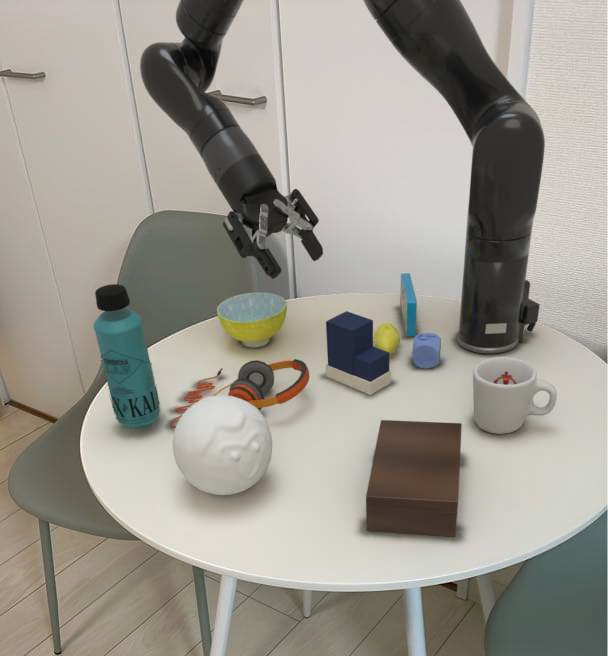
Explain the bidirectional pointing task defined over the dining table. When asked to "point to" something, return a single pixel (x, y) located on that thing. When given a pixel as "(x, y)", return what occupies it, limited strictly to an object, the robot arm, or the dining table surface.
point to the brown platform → (415, 478)
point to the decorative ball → (222, 445)
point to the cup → (507, 394)
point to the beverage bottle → (125, 358)
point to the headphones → (257, 384)
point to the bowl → (252, 317)
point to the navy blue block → (355, 354)
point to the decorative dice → (426, 350)
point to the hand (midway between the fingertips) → (298, 266)
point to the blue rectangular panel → (408, 305)
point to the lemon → (386, 337)
